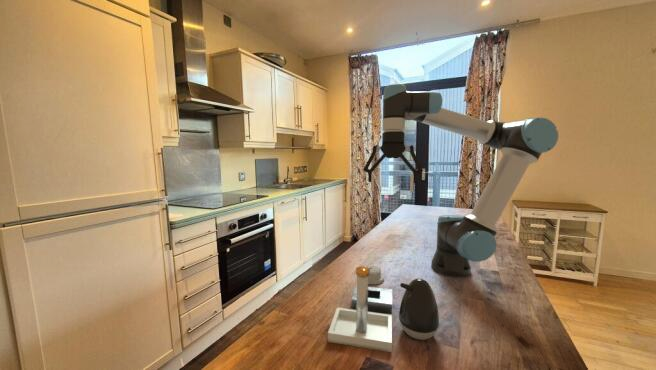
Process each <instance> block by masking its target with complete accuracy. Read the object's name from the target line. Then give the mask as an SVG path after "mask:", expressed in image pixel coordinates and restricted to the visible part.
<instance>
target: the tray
mask: <svg viewBox="0 0 656 370" xmlns="http://www.w3.org/2000/svg"><path fill="white" fill-rule="evenodd" d="M327 342H328V343H333V344H339V345H345V346H349V347H357V348H363V349H370V350H375V351H381V352H387V353H392V352H393V349H392V348H393V314H392V315H391V314H383V313H375V312H368V315H367V332H366V333H359V332H357V331H356V310H353V309H351V308H344V307H338V306H337V307H336V309H335V313H334V315H333V318H332V320H331V324H330V327H329V329H328V331H327Z"/></svg>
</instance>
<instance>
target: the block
mask: <svg viewBox="0 0 656 370" xmlns="http://www.w3.org/2000/svg"><path fill="white" fill-rule="evenodd" d="M350 303H351V304H350V305H351V306H350V307H351V308H350V309H353V310H356V305H357V284H356V285H354V288H353V292H352V296H351V302H350ZM368 312H375V313H383V314H391V315H392V316H393V289H391V288H382V287H373V286H368Z"/></svg>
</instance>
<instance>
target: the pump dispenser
mask: <svg viewBox="0 0 656 370" xmlns="http://www.w3.org/2000/svg"><path fill="white" fill-rule="evenodd" d="M399 286H400V288H403V289H404V290H405V291H404V292H403V296H402V299H401V301H400V305H399V306H400V307H399V311H398V320H399V322H400V325H401V327H402V330H403V331H404V333H406V334H407V336H409V337H411V338H412V339H415V340H420V341H421V340H422V341H425V340H428V339H430V338H432V337H433V336H434V335H435V334H436V333H437V329H438V328H439V325H440V317H439V310H438V309H439V308H438V307H439V306H438V303H437V299H436V297H435V294H434V291H433V288H432V287H431V286H430V283H429V282H428V281H426V280H425V279H423V278H415V279H412V280H411V281H410V282H409V283H408V284H407V283H404V282H400V284H399Z"/></svg>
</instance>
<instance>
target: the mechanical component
mask: <svg viewBox="0 0 656 370" xmlns="http://www.w3.org/2000/svg"><path fill="white" fill-rule="evenodd" d="M364 267H368V268H369V269H370V275H369V276H368V285H378V284H382V283H383V282H384V281H385V276H384V275H383V273H382V272H381V271H382V269H381V268H380V267H379V266H378V265H377V266H376V265H374V264H373V265H372V264H368V265H364Z"/></svg>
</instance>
